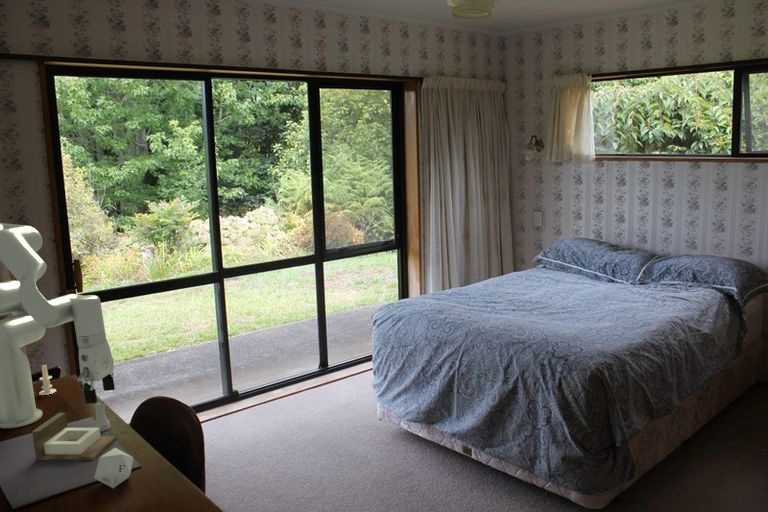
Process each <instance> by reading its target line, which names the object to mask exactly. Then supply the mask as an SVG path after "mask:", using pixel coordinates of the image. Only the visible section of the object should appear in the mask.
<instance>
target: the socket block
mask: <svg viewBox="0 0 768 512" xmlns="http://www.w3.org/2000/svg"><path fill="white" fill-rule="evenodd" d="M100 438H101V432H100V428H95V427H68V428H64V429H63V430H62V431H60V432H59V433H58V434H56V435H55V436H54V437H52V438H51V439H50V440H48V441H47V442H46V443H44V450H45V454H82V453H83V452H84V451H85V450H87V449H88V448H89V447H90V446H91V445H92V444H94V443H95V442H96V441H97V440H98V439H100ZM69 440H78V441H69Z"/></svg>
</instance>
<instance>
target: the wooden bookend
mask: <svg viewBox="0 0 768 512" xmlns="http://www.w3.org/2000/svg"><path fill="white" fill-rule="evenodd" d="M64 428H69V427H68V419H67V412H58V413H56V414H55V415H54V416H52V417H50V418H49V419H48V420H47V421H45V422H43V423H42V424H40V425H39V426H38V427H36V428H35V429H34V430H32V433H31V434H32V439H33V440H32V441H33V447H34V453H35V461H62V460H61V459H71V460H70V461H94V460H96V459H97V458H99V457H100V456H101V454H102V453H104V452H105V451H106V450H107V449H108V448H109V447H110V446H111V445H112V444H113V443H115V442H116V441H117V440H118V439H117V436H116V435H113V436H112V435H109V436H106V435H104V436H103V435H102V436H101V435H100V436H101V438H100V439H98V440H97V441H96V442H95V443H94V444H92V445H91V446H90V447H89V448H88V449H87V450H85V451H84V452H83V453H82V454H45V450H44V443H46V442H47V441H48V440H50V439H51V438H52V437H54V436H55V435H56V434H58V433H59V432H60V431H62V430H63V429H64ZM69 441H78V440H69ZM114 441H115V442H114ZM105 449H106V450H105ZM96 457H97V458H96ZM95 458H96V459H95ZM72 459H74V460H72Z"/></svg>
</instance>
